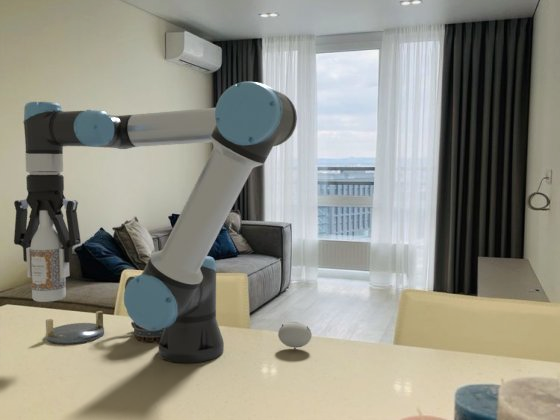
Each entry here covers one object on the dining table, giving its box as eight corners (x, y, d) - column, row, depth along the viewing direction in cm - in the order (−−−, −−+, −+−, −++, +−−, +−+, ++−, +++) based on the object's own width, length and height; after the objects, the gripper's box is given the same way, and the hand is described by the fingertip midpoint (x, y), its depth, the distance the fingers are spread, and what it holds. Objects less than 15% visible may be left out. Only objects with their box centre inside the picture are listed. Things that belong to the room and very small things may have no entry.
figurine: (312, 346, 129) (312, 319, 128) (310, 355, 123) (310, 327, 122) (280, 344, 130) (280, 317, 129) (276, 353, 124) (276, 325, 123)
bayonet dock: (113, 328, 142) (113, 309, 141) (87, 346, 128) (87, 325, 128) (64, 326, 144) (64, 307, 143) (34, 343, 130) (33, 322, 129)
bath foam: (25, 301, 116) (21, 210, 114) (47, 293, 123) (44, 208, 121) (51, 303, 114) (48, 211, 112) (72, 296, 121) (69, 209, 119)
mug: (184, 333, 138) (184, 277, 136) (154, 345, 129) (154, 285, 127) (142, 324, 146) (141, 270, 145) (111, 334, 137) (110, 277, 136)
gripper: (96, 173, 119) (98, 274, 121) (13, 173, 121) (17, 272, 123) (79, 174, 111) (82, 281, 113) (-9, 173, 114) (-4, 278, 115)
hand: (48, 276), depth 118 cm, fingers closed on bath foam, 7 cm apart
